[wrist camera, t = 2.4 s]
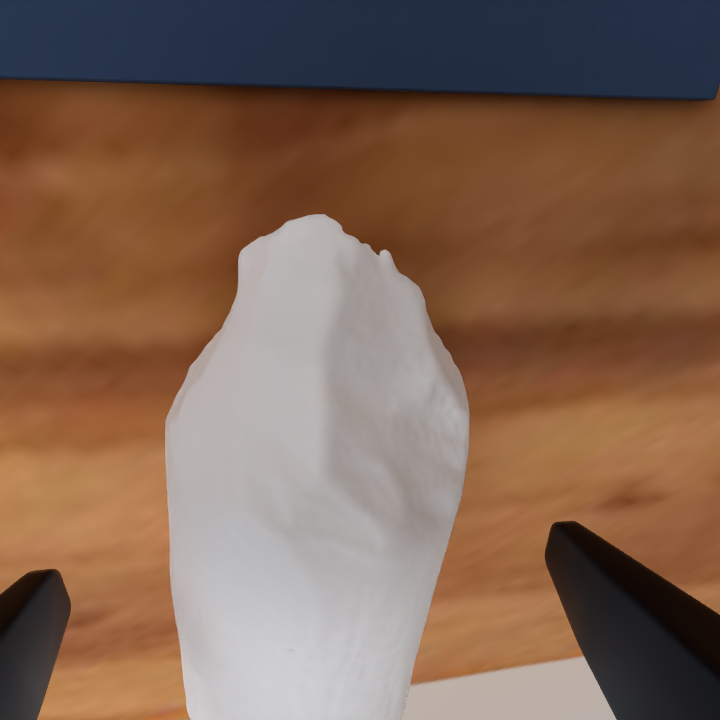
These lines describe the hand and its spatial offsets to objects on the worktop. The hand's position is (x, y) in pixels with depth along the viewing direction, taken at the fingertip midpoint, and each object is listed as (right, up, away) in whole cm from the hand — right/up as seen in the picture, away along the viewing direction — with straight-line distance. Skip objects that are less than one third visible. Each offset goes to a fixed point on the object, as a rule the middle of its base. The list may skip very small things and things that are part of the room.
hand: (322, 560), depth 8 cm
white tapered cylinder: (-1, +2, +4) cm, 5 cm away
